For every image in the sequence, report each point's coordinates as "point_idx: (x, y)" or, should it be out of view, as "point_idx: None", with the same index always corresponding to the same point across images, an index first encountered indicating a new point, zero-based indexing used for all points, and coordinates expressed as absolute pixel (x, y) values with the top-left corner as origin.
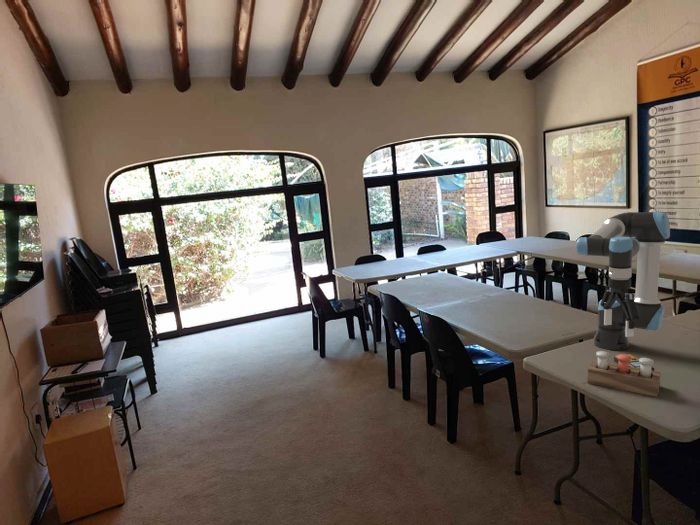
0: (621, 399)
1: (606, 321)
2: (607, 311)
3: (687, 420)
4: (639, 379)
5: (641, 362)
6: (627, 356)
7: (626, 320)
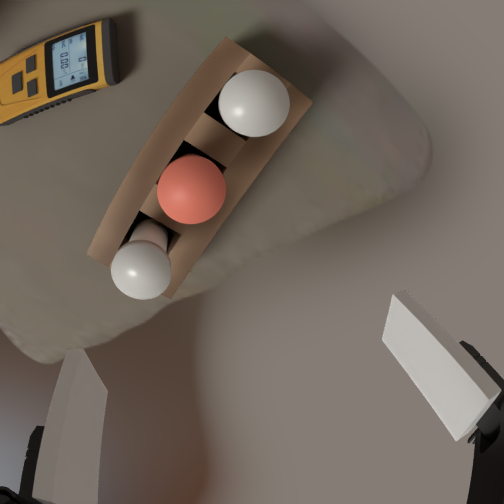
0: (291, 218)
1: (99, 412)
2: (86, 501)
3: (409, 122)
4: (275, 151)
5: (266, 134)
6: (191, 172)
7: (472, 437)
